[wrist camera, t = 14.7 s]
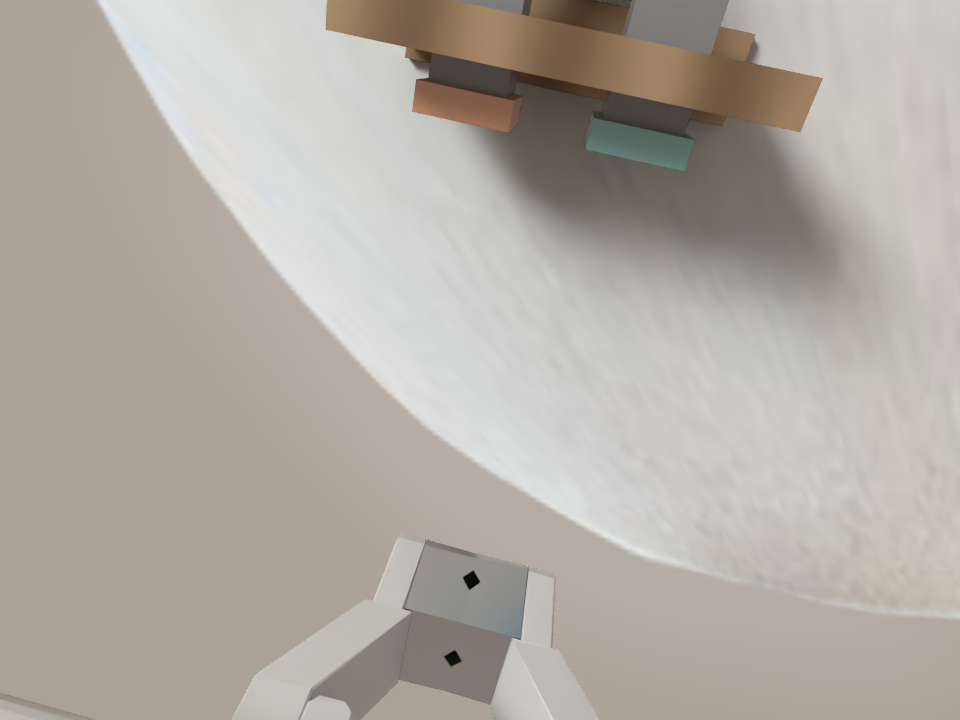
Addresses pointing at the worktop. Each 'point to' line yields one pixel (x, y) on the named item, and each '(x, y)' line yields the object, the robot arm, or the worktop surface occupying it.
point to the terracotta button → (472, 85)
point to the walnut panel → (587, 55)
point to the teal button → (647, 123)
